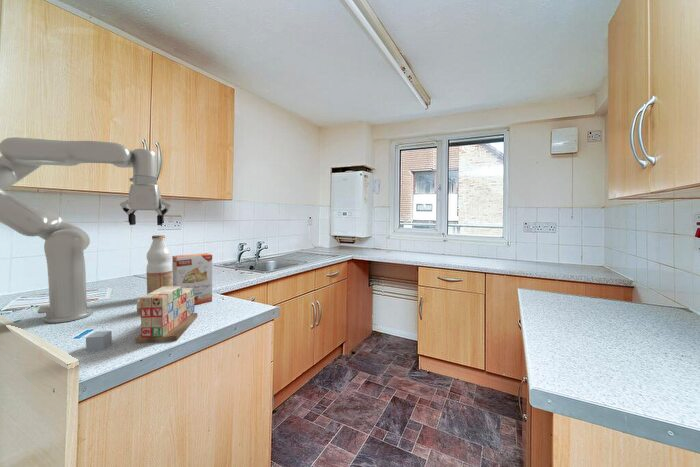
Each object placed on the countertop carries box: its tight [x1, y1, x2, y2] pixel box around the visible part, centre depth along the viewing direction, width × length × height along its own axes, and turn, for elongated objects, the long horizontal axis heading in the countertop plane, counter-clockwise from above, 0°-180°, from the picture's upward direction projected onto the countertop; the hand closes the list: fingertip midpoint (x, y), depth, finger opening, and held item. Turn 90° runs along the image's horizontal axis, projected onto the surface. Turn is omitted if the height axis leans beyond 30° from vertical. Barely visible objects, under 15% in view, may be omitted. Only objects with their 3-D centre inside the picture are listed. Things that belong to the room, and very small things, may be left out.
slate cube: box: [85, 330, 113, 352], centre depth 80 cm, size 4×4×4 cm
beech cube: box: [136, 298, 141, 317], centre depth 108 cm, size 5×5×5 cm
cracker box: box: [171, 252, 213, 306], centre depth 119 cm, size 14×6×21 cm, turn 137°
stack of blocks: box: [139, 285, 195, 337], centre depth 94 cm, size 21×6×12 cm, turn 6°
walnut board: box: [134, 312, 198, 344], centre depth 94 cm, size 11×20×2 cm, turn 12°
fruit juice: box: [146, 234, 173, 295], centre depth 126 cm, size 9×9×28 cm
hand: (146, 224), depth 112 cm, fingers open, 9 cm apart
